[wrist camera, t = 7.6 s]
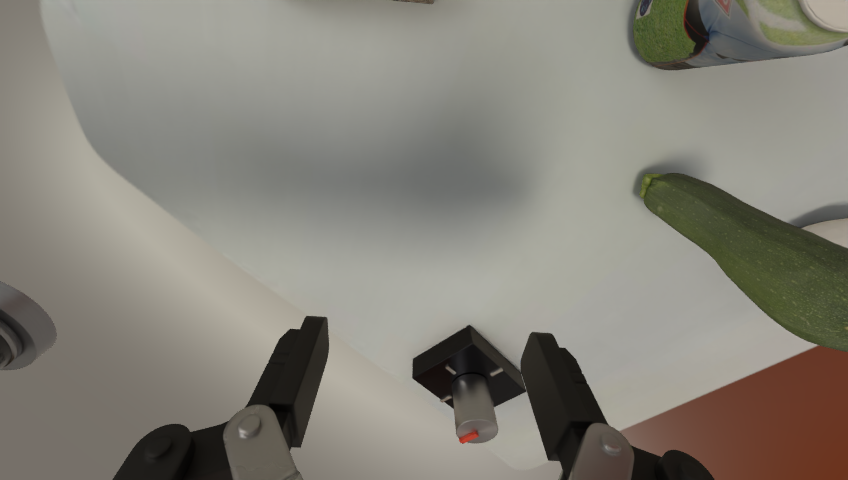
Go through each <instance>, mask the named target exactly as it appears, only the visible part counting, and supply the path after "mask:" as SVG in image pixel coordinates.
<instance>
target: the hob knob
mask: <svg viewBox="0 0 848 480" xmlns="http://www.w3.org/2000/svg"><path fill="white" fill-rule="evenodd" d="M452 392H453V403H454V414H455V425H456V434H457V436H458V437H459V441H460V442H461V443H462V444H463V443H465V442H468V443H483V442H487V441H489V440H491V439H493V438H494V437H495V436H496V435H497V433H498V426H497V421H496V416H495V411H494V406H493V401H492V396H491V391H490V386H489V382H488V380H487V379H486V378H485V377H483V376H481V375H479V374H465V375H462V376H460V377H458V378H457V379H456V380H455V381H454V382H453V384H452Z"/></svg>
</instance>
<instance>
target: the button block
mask: <svg viewBox="0 0 848 480" xmlns="http://www.w3.org/2000/svg"><path fill="white" fill-rule="evenodd" d="M395 1H405V2H416V3H426V4H433V2H434V0H395Z"/></svg>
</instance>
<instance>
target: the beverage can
mask: <svg viewBox="0 0 848 480" xmlns="http://www.w3.org/2000/svg"><path fill="white" fill-rule="evenodd" d="M633 35H634V41H635V44H636V47H637V50H638V52H639V53H640V55H641V56H642V57H643V59H644V60H645V61H646V62H648V63H649V64H651V65H652V66H654V67H657V68H659V69H664V70H681V69H690V68H699V67H708V66H717V65H726V64H735V63H744V62H752V61H761V60H770V59H779V58H788V57H797V56H806V55H814V54H819V53H824V52H829V51H832V50H835V49H838V48H841V47H844V46H847V45H848V0H640V2H639V4H638V7H637V10H636V13H635V18H634V24H633Z"/></svg>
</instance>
